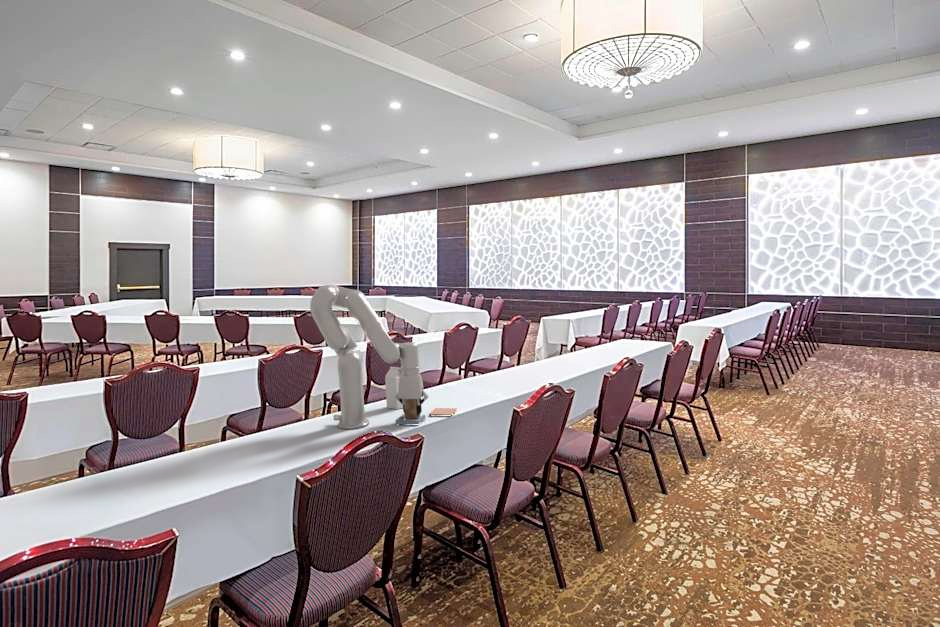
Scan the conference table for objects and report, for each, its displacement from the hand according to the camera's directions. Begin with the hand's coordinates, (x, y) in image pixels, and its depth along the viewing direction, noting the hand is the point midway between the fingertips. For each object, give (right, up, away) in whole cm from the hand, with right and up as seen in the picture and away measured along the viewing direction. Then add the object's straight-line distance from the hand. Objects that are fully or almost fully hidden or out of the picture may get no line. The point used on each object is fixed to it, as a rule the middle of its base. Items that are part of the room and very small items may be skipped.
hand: (412, 413), depth 229 cm
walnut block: (0, -3, 0) cm, 3 cm away
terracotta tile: (+12, -2, +10) cm, 16 cm away
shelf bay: (0, -3, -2) cm, 4 cm away
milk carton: (-10, -2, +24) cm, 26 cm away
